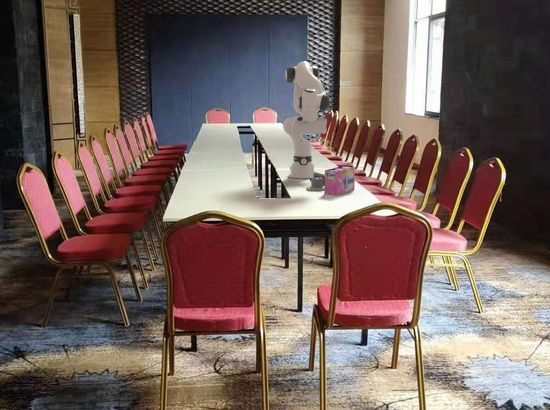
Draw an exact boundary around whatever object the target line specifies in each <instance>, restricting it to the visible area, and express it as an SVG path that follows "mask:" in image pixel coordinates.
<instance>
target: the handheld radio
mask: <svg viewBox="0 0 550 410" xmlns="http://www.w3.org/2000/svg"><path fill="white" fill-rule="evenodd" d="M319 177H322V178H323V186H325V173H319V172H316V171H314V177H313V178H319ZM309 181H311V178H309Z"/></svg>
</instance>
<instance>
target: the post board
mask: <svg viewBox="0 0 550 410" xmlns="http://www.w3.org/2000/svg"><path fill="white" fill-rule="evenodd" d="M316 179H319V178H316ZM324 189H325V186H323V188H313V187H312V186H311V185H307V186H306V190H307V191H308V192H311V191H312V192H314V191H316V192H317V191H318V192H319V191H320V192H321V191H324Z"/></svg>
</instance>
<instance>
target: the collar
mask: <svg viewBox="0 0 550 410" xmlns="http://www.w3.org/2000/svg"><path fill="white" fill-rule="evenodd" d="M310 179H311V185H310V186H312V187H313V188H323V178H322V177H319V179H316V178H310Z"/></svg>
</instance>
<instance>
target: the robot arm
mask: <svg viewBox="0 0 550 410" xmlns="http://www.w3.org/2000/svg"><path fill="white" fill-rule="evenodd" d="M285 69H286V70H285V72H284V73H285V74H284V77H285V80H286V82H287V83H288V84H294V87H293V110H294V111H295V112H296V113H298V114H299V115H295V116H294V117H288V118H286V119H285V120H284V121H283V124H282V128H283V129H282V130H283V131H284V133H285V134H287V135H288V136H289V137H290V139H291V140H292V142H293V149H294V150H293V153H294V155H293V159H292V161H293V163H292V164H291V166H289V170H290V172H289V174H288V178H293V179H311V178H313V177H314V172H315V164H314V163H313V156H312V143H311V142H310V141H309V140H306V139H305V138H303V135H317V137H316V138H315V142H319V139H320V137H321V134H323V135H324V134H327V124H328V120H327V118H326V117H318V112H319V111H320V112H326V111H328V109H329V108H330V106H331V99H330V96H329V95H328V94H327V92H326V90H325V87H324V85H323V83H322V81H321V80H320V71H319V68H318V67H317V66H314V65H312V66H311V64H310V63H309V62H307V61H305V60H304V61H300V62H298V63H297V65H296V66H289V67H287V68H285Z"/></svg>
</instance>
